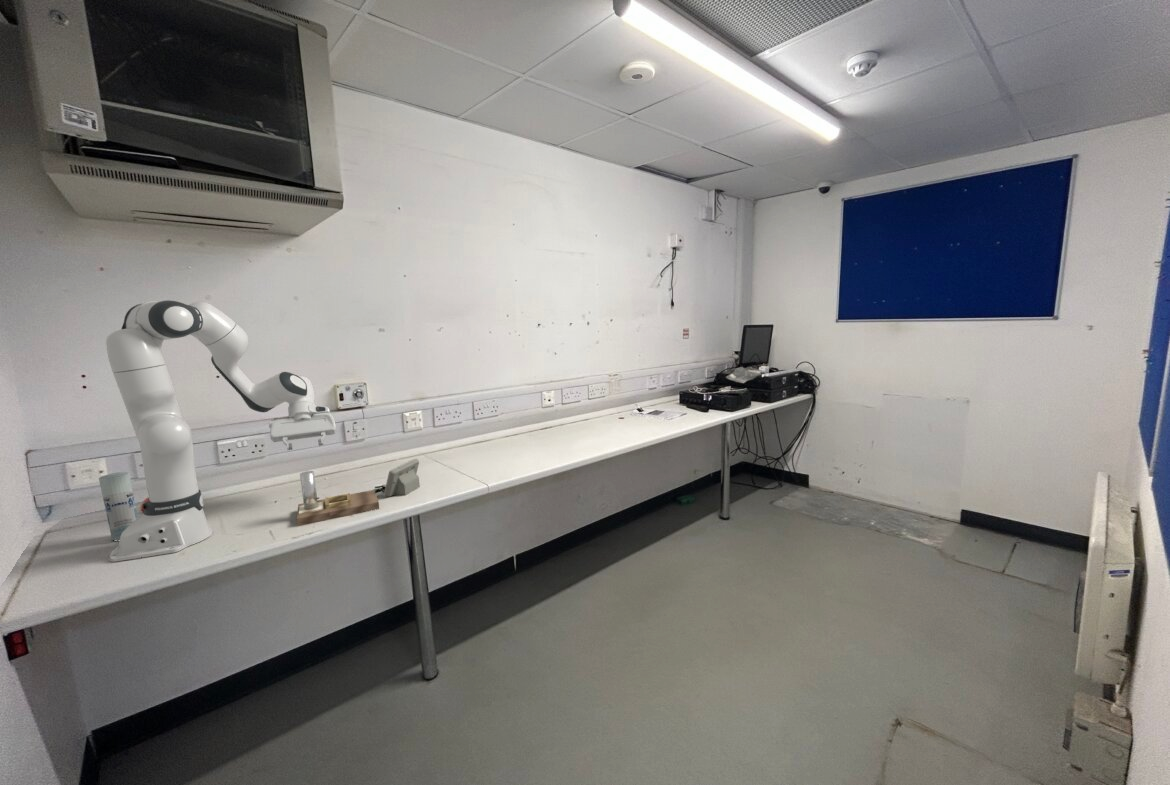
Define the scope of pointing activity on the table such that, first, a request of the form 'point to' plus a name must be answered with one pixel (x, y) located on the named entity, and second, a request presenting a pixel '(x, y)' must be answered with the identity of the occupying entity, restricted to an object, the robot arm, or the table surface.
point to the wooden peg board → (338, 507)
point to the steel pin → (309, 490)
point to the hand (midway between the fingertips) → (305, 446)
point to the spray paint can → (118, 502)
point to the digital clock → (403, 479)
